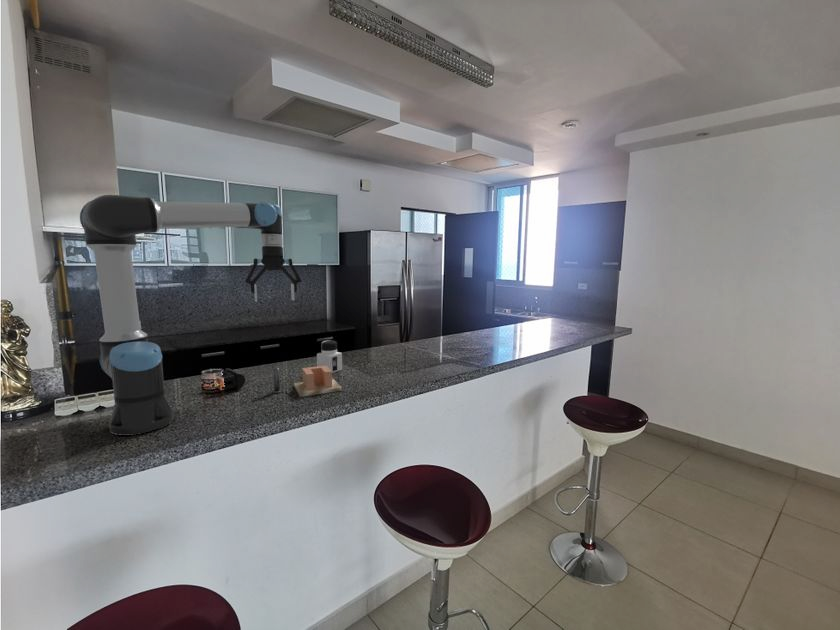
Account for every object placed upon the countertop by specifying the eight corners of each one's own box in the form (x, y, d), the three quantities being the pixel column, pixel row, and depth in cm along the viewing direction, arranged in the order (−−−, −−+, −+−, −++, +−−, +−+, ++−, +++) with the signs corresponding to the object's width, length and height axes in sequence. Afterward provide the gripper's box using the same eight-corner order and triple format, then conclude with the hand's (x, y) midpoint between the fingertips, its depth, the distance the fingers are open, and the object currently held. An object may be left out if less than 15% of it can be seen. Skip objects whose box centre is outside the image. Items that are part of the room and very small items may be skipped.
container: (342, 369, 169) (342, 340, 168) (329, 374, 163) (328, 343, 161) (330, 367, 173) (329, 338, 172) (316, 371, 167) (316, 341, 165)
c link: (307, 390, 138) (306, 374, 137) (302, 383, 146) (302, 368, 145) (332, 387, 142) (331, 371, 141) (326, 380, 150) (326, 365, 149)
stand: (273, 393, 138) (272, 369, 137) (272, 391, 140) (271, 367, 139) (281, 392, 139) (280, 368, 138) (280, 390, 142) (279, 366, 140)
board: (299, 396, 135) (299, 393, 135) (293, 386, 147) (293, 383, 146) (341, 390, 142) (341, 387, 142) (333, 380, 153) (333, 378, 153)
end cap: (246, 389, 143) (245, 371, 142) (226, 394, 138) (225, 375, 137) (234, 383, 150) (233, 366, 149) (215, 388, 144) (214, 370, 144)
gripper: (236, 244, 139) (239, 303, 142) (307, 246, 150) (309, 300, 153) (236, 245, 146) (239, 301, 149) (304, 246, 157) (306, 298, 160)
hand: (274, 301), depth 151 cm, fingers open, 13 cm apart
